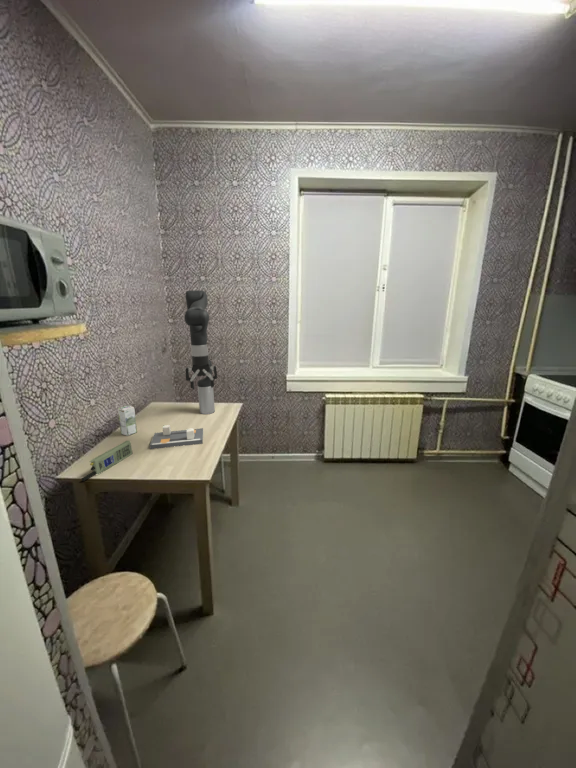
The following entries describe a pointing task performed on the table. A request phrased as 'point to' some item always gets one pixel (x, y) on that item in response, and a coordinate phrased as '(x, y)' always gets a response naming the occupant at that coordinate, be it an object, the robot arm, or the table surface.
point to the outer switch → (190, 433)
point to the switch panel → (176, 439)
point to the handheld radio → (109, 458)
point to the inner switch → (166, 430)
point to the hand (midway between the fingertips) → (202, 388)
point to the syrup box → (127, 420)
